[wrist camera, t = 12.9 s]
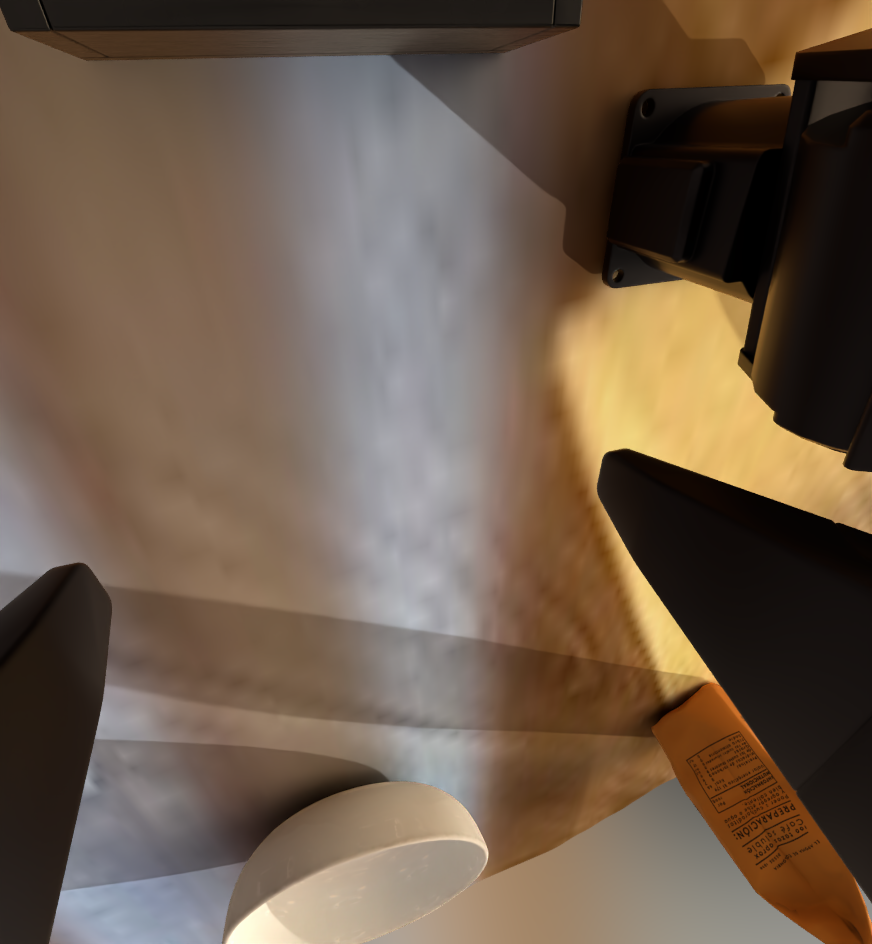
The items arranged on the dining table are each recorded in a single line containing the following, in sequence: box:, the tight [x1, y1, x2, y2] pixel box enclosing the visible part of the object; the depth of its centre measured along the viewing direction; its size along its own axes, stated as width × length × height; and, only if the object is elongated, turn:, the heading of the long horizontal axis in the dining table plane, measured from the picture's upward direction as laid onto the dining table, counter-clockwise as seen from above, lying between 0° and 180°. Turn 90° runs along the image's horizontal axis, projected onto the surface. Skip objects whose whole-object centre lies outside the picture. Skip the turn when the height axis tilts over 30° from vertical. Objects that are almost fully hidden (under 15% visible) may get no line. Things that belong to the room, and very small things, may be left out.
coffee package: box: [651, 683, 872, 944], centre depth 44 cm, size 10×12×22 cm
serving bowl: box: [222, 781, 488, 944], centre depth 40 cm, size 21×21×7 cm
